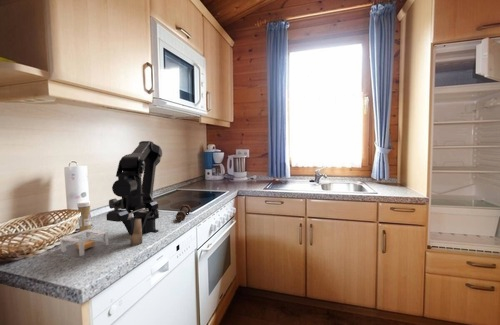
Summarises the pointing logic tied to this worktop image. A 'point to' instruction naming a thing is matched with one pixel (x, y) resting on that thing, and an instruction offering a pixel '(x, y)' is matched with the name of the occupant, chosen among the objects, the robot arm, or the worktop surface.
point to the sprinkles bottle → (84, 215)
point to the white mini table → (80, 252)
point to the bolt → (183, 212)
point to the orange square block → (86, 244)
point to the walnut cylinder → (136, 233)
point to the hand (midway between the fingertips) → (135, 233)
